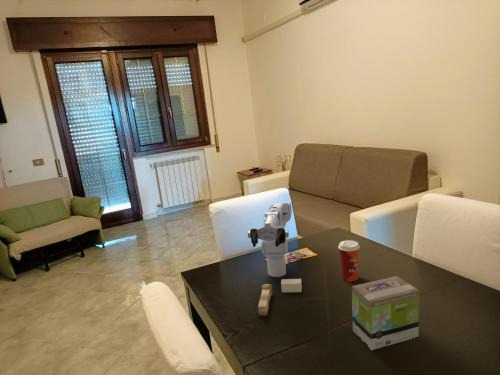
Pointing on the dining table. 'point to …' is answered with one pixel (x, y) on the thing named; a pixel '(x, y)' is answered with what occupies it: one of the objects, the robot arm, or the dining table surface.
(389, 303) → the tea box
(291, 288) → the block
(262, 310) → the leg
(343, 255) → the paper cup
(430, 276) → the dining table surface
